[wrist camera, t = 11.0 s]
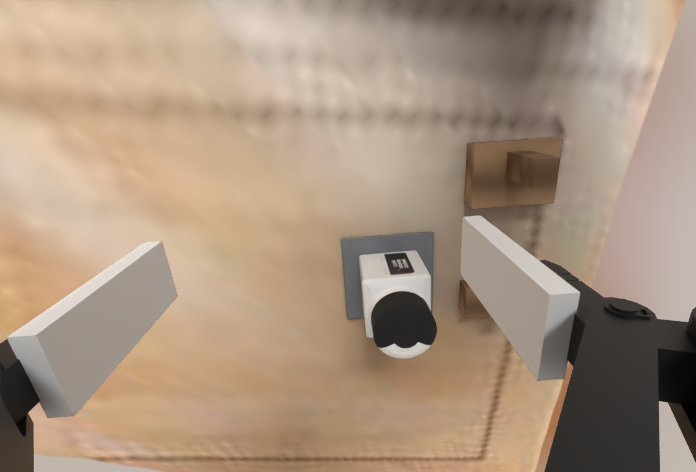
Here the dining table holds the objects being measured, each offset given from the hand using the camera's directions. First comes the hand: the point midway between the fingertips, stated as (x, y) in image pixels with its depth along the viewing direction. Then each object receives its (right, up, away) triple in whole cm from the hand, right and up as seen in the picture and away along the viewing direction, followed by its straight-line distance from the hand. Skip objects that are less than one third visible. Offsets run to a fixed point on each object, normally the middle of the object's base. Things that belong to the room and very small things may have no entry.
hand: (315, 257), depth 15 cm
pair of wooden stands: (+22, +2, +30) cm, 37 cm away
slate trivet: (+7, -5, +32) cm, 33 cm away
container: (+7, -5, +32) cm, 33 cm away
